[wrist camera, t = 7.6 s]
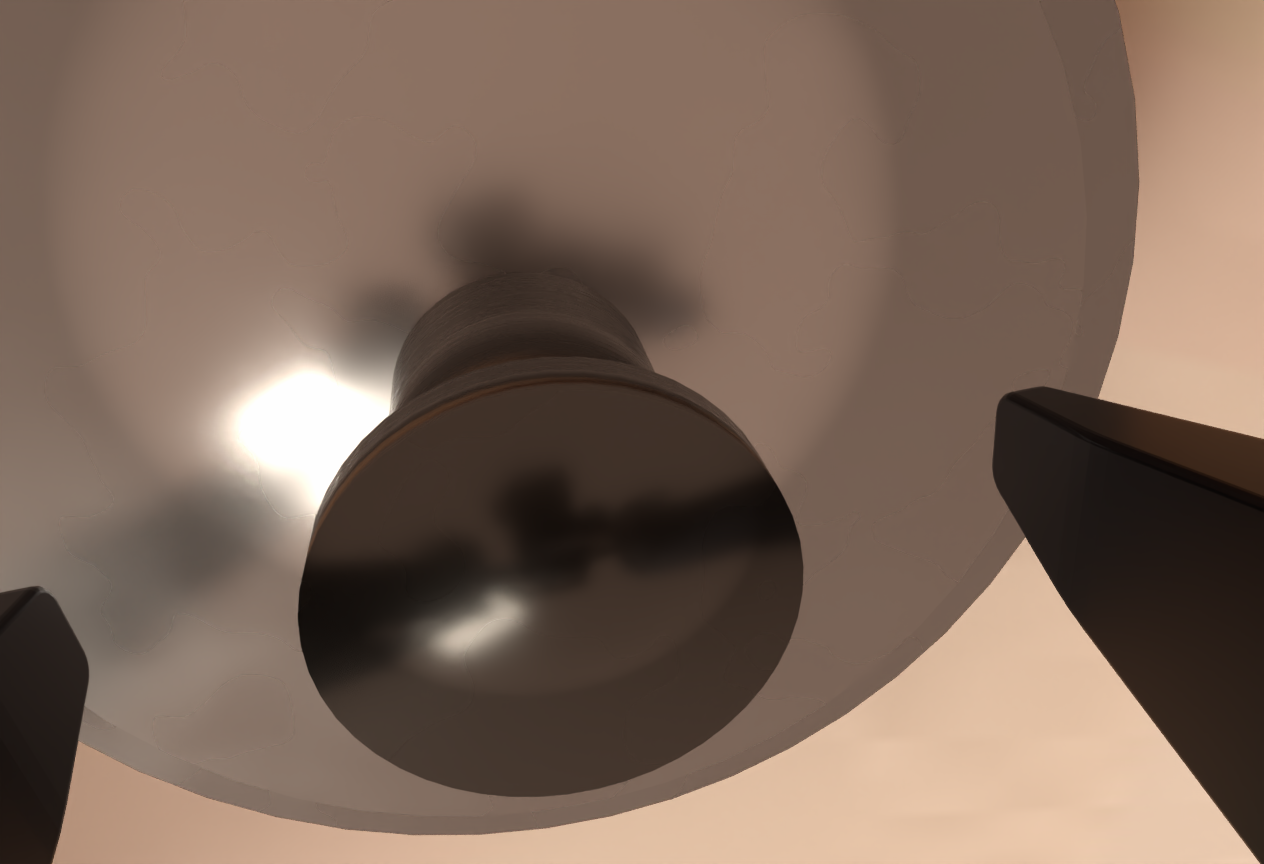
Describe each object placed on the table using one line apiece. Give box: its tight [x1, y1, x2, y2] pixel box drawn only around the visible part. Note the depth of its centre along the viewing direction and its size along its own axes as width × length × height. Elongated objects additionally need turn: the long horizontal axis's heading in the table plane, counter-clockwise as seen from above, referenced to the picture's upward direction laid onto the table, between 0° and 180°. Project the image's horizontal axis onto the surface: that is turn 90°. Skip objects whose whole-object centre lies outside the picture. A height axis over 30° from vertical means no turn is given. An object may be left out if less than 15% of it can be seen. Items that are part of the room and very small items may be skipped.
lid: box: [0, 0, 1139, 835], centre depth 10 cm, size 16×16×5 cm
